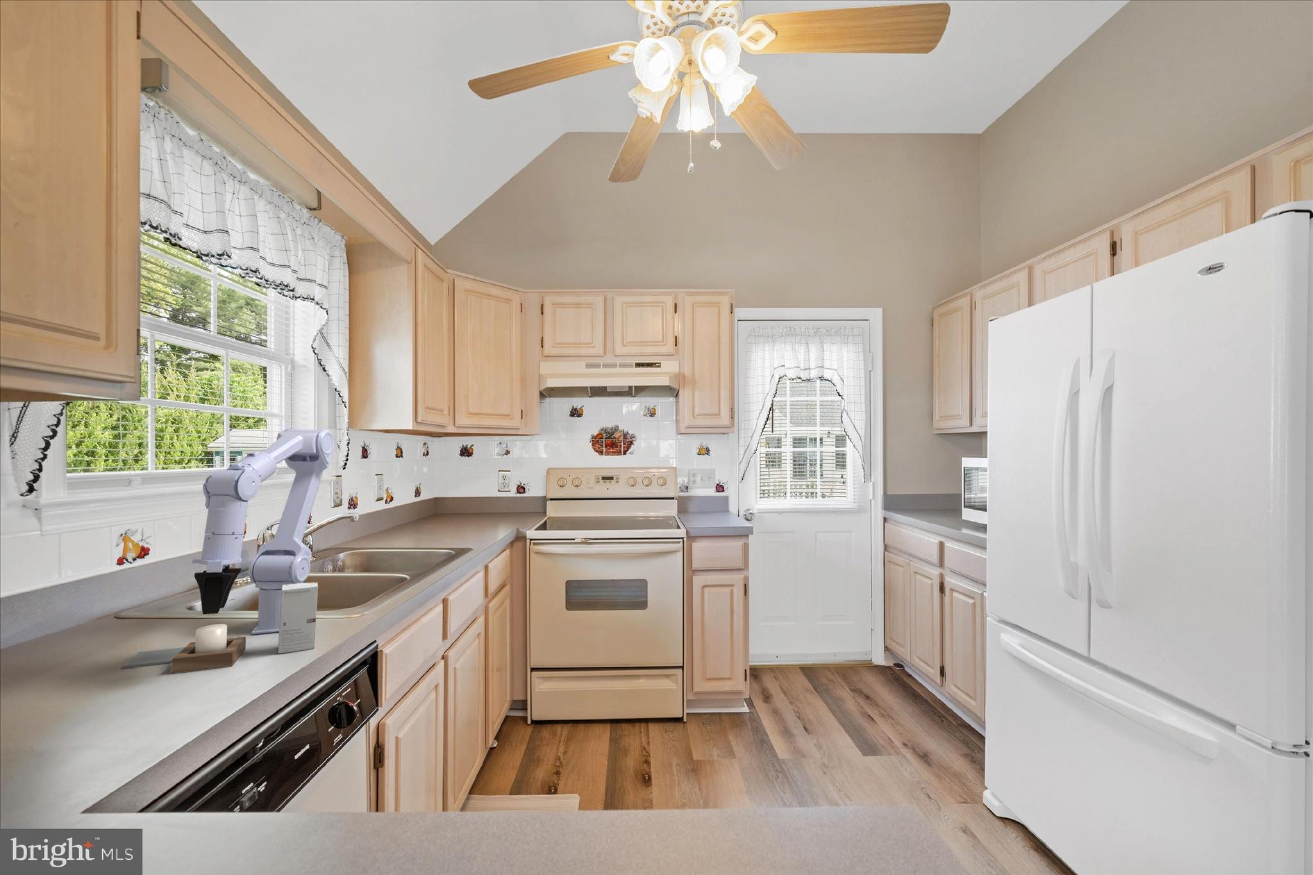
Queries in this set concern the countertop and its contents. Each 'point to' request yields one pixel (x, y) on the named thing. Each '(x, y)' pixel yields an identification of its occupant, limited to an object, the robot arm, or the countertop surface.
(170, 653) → the slate mat
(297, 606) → the skincare box
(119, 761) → the countertop surface
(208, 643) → the cream rounded capsule
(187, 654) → the walnut holder
